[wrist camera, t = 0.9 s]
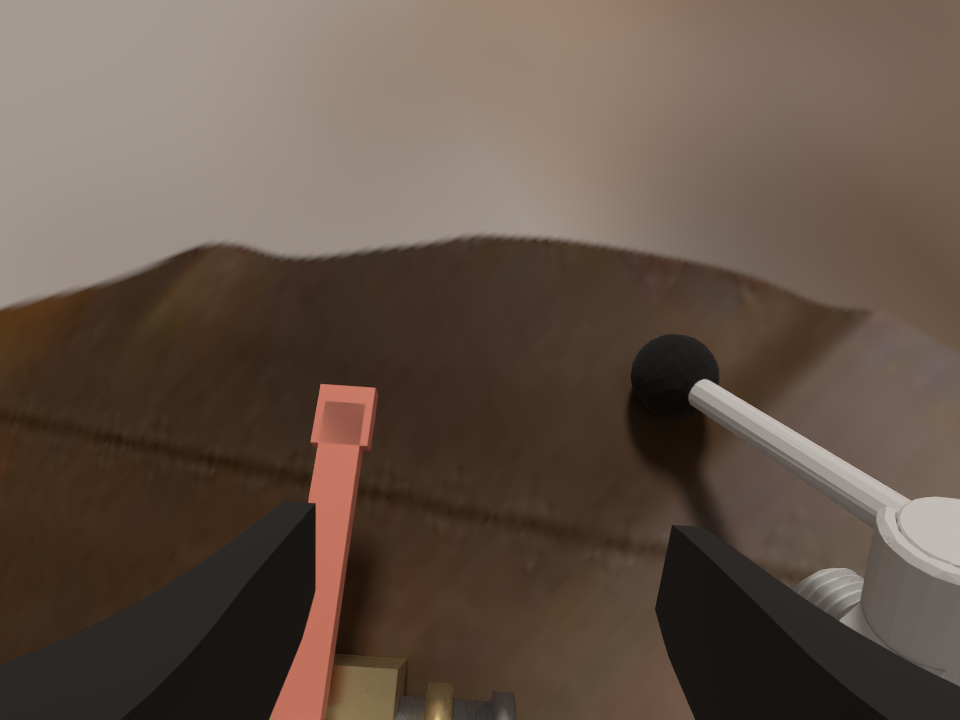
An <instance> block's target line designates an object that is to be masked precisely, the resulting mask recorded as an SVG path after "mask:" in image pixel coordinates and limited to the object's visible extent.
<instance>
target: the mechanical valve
mask: <svg viewBox="0 0 960 720" xmlns="http://www.w3.org/2000/svg"><path fill="white" fill-rule="evenodd" d="M631 381H632V387H633V389H634V392H635V394H636V396H637V398H638V399H639V400H640V401H641V403H642V404H643V405H644V406H645V407H646V408H648V409H649V410H651V411H652V412H654V413H656V414H658V415H660V416H664V417H672V418H681V417H687V416H690V415H693V414H695V413H697V412H699V411H701V412H702V413H704V414H705V415H707V416H708V417H710V418H711V419H713V420H714V421H716V422H717V423H719V424H720V425H722V426H723V427H725V428H726V429H727V430H729V431H730V432H732V433H733V434H735V435H736V436H738V437H739V438H741V439H742V440H744V441H745V442H747V443H748V444H750V445H751V446H753V447H754V448H756V449H757V450H758V451H760V452H761V453H763V454H764V455H766V456H767V457H769V458H770V459H772V460H773V461H775V462H776V463H778V464H779V465H781V466H782V467H784V468H785V469H786V470H788V471H789V472H791V473H792V474H794V475H795V476H797V477H798V478H800V479H801V480H803V481H804V482H806V483H807V484H809V485H810V486H812V487H813V488H815V489H816V490H817V491H819V492H820V493H822V494H823V495H825V496H826V497H828V498H829V499H831V500H832V501H834V502H835V503H837V504H838V505H840V506H841V507H843V508H844V509H846V510H847V511H848V512H850V513H851V514H853V515H854V516H856V517H857V518H859V519H860V520H862V521H863V522H865V523H866V524H868V525H869V526H871V527H872V528H874V532H873V537H872V542H871V547H870V552H869V557H868V563H867V568H866V573H865V578H864V579H863V578H861V577H860V576H857V574H856V573H855V572H854V571H853V570H850V569H846V568H840V569H837V568H830V569H824V570H820V571H818V572H816V573H815V574H813V575H811V576H809V577H807V578H805V579H804V580H802V581H801V582H800V583H799V584H797V585H796V586H795V587H793V588H792V590H793V591H794V592H796V593H797V594H799V595H800V596H802V597H803V598H805V599H806V600H808V601H809V602H811V603H812V604H814V605H815V606H817V607H818V608H820V609H821V610H823V611H825V612H826V613H828V614H829V615H831V616H832V617H834V618H835V619H837V620H839V621H840V622H842V623H843V624H845V625H846V626H848V627H850V628H851V629H853V630H855V631H856V632H858V633H860V634H861V635H863V636H865V637H867V638H868V639H870V640H872V641H874V642H876V643H877V644H879V645H881V646H883V647H884V648H886V649H888V650H890V651H892V652H893V653H895V654H897V655H899V656H900V657H902V658H904V659H906V660H908V661H910V662H912V663H914V664H916V665H917V666H919V667H921V668H923V669H925V670H927V671H929V672H931V673H933V674H935V675H937V676H939V677H941V678H943V679H946V680H948V681H950V682H952V683H954V684H956V685H958V686H960V500H959V499H953V498H943V497H926V498H920V499H916V500H913V501H910V500H909V499H907V498H905V497H904V496H902V495H900V494H899V493H897V492H895V491H894V490H892V489H890V488H889V487H887V486H885V485H884V484H882V483H880V482H879V481H877V480H875V479H874V478H872V477H870V476H869V475H867V474H865V473H864V472H862V471H860V470H859V469H857V468H855V467H854V466H852V465H850V464H849V463H847V462H845V461H843V460H842V459H840V458H838V457H837V456H835V455H833V454H832V453H830V452H828V451H827V450H825V449H823V448H822V447H820V446H818V445H817V444H815V443H813V442H812V441H810V440H808V439H807V438H805V437H803V436H802V435H800V434H798V433H797V432H795V431H793V430H792V429H790V428H788V427H787V426H785V425H783V424H782V423H780V422H778V421H777V420H775V419H773V418H771V417H770V416H768V415H766V414H765V413H763V412H761V411H760V410H758V409H756V408H755V407H753V406H751V405H750V404H748V403H746V402H745V401H743V400H741V399H740V398H738V397H736V396H735V395H733V394H731V393H730V392H728V391H726V390H725V389H723V388H721V387H720V386H718V384H719V368H718V365H717V362H716V360H715V358H714V356H713V354H712V353H711V352H710V351H709V349H708V348H707V347H706V346H705V345H704V344H702V343H701V342H699V341H698V340H696V339H695V338H692V337H689V336H685V335H677V334H669V335H664V336H660V337H658V338H656V339H654V340H651V341H650V342H649V343H647V344H646V345H645V346H644V347H643V348H642V349H641V350H640V351H639V353H638V354H637V356H636V358H635V360H634V362H633V365H632V372H631Z"/></svg>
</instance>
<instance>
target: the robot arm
mask: <svg viewBox="0 0 960 720" xmlns="http://www.w3.org/2000/svg"><path fill="white" fill-rule="evenodd" d="M315 591H316V503H304V502H287V501H285V502H283V503H282V504H281V505H279V506H278V507H276V508H275V509H274V510H272V511H271V512H270V513H268V514H267V515H266V516H265V517H263V518H262V519H261V520H259V521H258V522H257V523H255V524H254V525H253V526H252V527H250V528H249V529H248V530H246V531H245V532H244V533H242V534H241V535H239V536H238V537H237V538H235V539H234V540H233V541H231V542H230V543H229V544H227V545H226V546H225V547H223V548H222V549H220V550H219V551H218V552H216V553H215V554H213V555H212V556H210V557H209V558H207V559H206V560H204V561H203V562H201V563H200V564H198V565H197V566H195V567H194V568H192V569H191V570H189V571H188V572H186V573H185V574H183V575H182V576H180V577H179V578H177V579H176V580H174V581H173V582H171V583H169V584H168V585H166V586H165V587H163V588H161V589H160V590H158V591H156V592H154V593H153V594H151V595H149V596H148V597H146V598H144V599H142V600H140V601H139V602H137V603H135V604H133V605H131V606H129V607H128V608H126V609H124V610H122V611H120V612H118V613H116V614H115V615H113V616H111V617H109V618H107V619H105V620H103V621H100V622H98V623H96V624H94V625H92V626H90V627H88V628H85V629H83V630H81V631H79V632H77V633H75V634H73V635H70V636H68V637H66V638H64V639H62V640H60V641H58V642H56V643H53V644H51V645H49V646H47V647H44V648H42V649H40V650H37V651H35V652H32V653H30V654H27V655H25V656H23V657H20V658H18V659H15V660H13V661H10V662H8V663H5V664H3V665H0V720H269V719H270V716H271V714H272V712H273V709H274V707H275V704H276V702H277V700H278V697H279V695H280V692H281V690H282V687H283V685H284V683H285V680H286V678H287V675H288V673H289V670H290V668H291V666H292V663H293V661H294V658H295V656H296V653H297V651H298V648H299V646H300V643H301V641H302V638H303V635H304V631H305V628H306V624H307V621H308V617H309V614H310V610H311V606H312V602H313V599H314V595H315ZM655 610H656V614H657V618H658V621H659V625H660V629H661V633H662V636H663V640H664V643H665V646H666V650H667V653H668V656H669V659H670V661H671V664H672V666H673V669H674V671H675V673H676V676H677V678H678V680H679V683H680V685H681V687H682V690H683V692H684V694H685V697H686V699H687V701H688V704H689V706H690V708H691V710H692V713H693V715H694V717H695V720H960V686H958V685H956V684H954V683H952V682H950V681H948V680H946V679H943V678H941V677H939V676H937V675H935V674H933V673H931V672H929V671H927V670H925V669H923V668H921V667H919V666H917V665H916V664H914V663H912V662H910V661H908V660H906V659H904V658H902V657H900V656H899V655H897V654H895V653H893V652H892V651H890V650H888V649H886V648H884V647H883V646H881V645H879V644H877V643H876V642H874V641H872V640H870V639H868V638H867V637H865V636H863V635H861V634H860V633H858V632H856V631H855V630H853V629H851V628H850V627H848V626H846V625H845V624H843V623H842V622H840V621H839V620H837V619H835V618H834V617H832V616H831V615H829V614H828V613H826V612H825V611H823V610H821V609H820V608H818V607H817V606H815V605H814V604H812V603H811V602H809V601H808V600H806V599H805V598H803V597H802V596H800V595H799V594H797V593H796V592H794V591H793V590H792V589H790V588H789V587H787V586H786V585H784V584H783V583H782V582H780V581H779V580H777V579H776V578H774V577H773V576H772V575H770V574H769V573H767V572H766V571H765V570H763V569H762V568H761V567H759V566H758V565H756V564H755V563H754V562H752V561H751V560H749V559H748V558H747V557H745V556H744V555H743V554H741V553H740V552H738V551H737V550H736V549H734V548H733V547H731V546H730V545H729V544H727V543H726V542H724V541H723V540H722V539H720V538H719V537H717V536H716V535H714V534H713V533H711V532H709V531H708V530H706V529H704V528H703V527H695V526H679V525H672V528H671V533H670V538H669V543H668V548H667V553H666V558H665V563H664V568H663V573H662V578H661V583H660V588H659V592H658V597H657V602H656V607H655Z"/></svg>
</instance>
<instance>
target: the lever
mask: <svg viewBox="0 0 960 720" xmlns="http://www.w3.org/2000/svg"><path fill="white" fill-rule="evenodd" d="M377 399H378V394H377V391H376V388H369V387H355V386H341V385H326V384H321V386H320V392H319V397H318V403H317V409H316V414H315V420H314V426H313V432H312V437H311V443H312V444H313V445H314V446H315V447H316V448H317V454H316V460H315V465H314V471H313V477H312V483H311V489H310V495H309V501H308V503H316V591H315V595H314V599H313V602H312V606H311V610H310V614H309V617H308V621H307V624H306V628H305V631H304V635H303V638H302V641H301V643H300V646H299V648H298V651H297V653H296V656H295V658H294V661H293V663H292V666H291V668H290V670H289V673H288V675H287V678H286V680H285V683H284V685H283V687H282V690H281V692H280V695H279V697H278V700H277V702H276V704H275V707H274V709H273V712H272V718H271V719H273V720H324V719H325V718H326V712H327V705H328V698H329V691H330V683H331V676H332V669H333V662H334V655H335V648H336V641H337V633H338V626H339V619H340V612H341V605H342V598H343V591H344V583H345V576H346V569H347V562H348V555H349V548H350V541H351V533H352V526H353V519H354V512H355V505H356V498H357V490H358V483H359V476H360V469H361V462H362V455H363V451H371V444H372V436H373V429H374V422H375V414H376V407H377Z"/></svg>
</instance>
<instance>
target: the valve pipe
mask: <svg viewBox="0 0 960 720" xmlns="http://www.w3.org/2000/svg"><path fill="white" fill-rule="evenodd" d="M407 659H408V658H394V657H378V656H363V655H348V654H335V655H334V662H333V669H332V676H331V683H330V691H329V698H328V705H327V712H326V718H325V719H324V720H516V707H515V698H514V694H513V693H512V692H496V691H493V692H492V696H491V701H482V700H467V699H453V689H454V684H451V683H436V682H429V683H428V689H427V696H426V697H421V696H406V695H404V690H405V680H406V669H407ZM271 718H272V714H271V716H270V719H269V720H273V719H271Z"/></svg>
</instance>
